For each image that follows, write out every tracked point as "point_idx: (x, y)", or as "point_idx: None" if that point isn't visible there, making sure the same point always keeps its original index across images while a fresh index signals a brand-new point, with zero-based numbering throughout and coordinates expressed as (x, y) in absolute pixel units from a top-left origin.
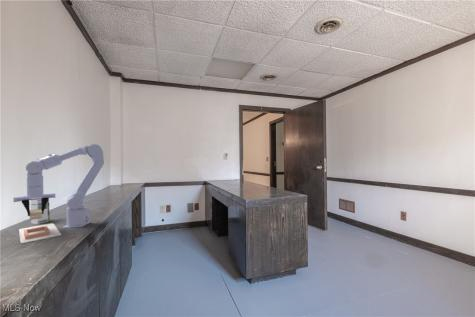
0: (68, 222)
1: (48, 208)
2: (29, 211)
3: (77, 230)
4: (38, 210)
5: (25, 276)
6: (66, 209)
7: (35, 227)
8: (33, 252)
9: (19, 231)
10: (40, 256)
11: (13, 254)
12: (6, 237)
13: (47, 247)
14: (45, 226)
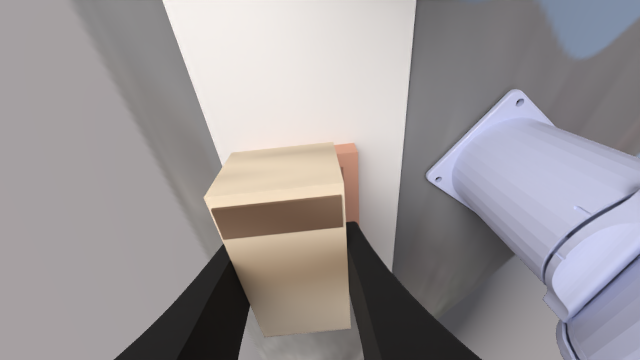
0: (469, 203)
1: None
2: (244, 320)
3: (454, 253)
4: (320, 265)
5: None
6: (552, 258)
7: (283, 31)
8: (313, 351)
9: (195, 86)
10: None
11: (271, 344)
12: (166, 164)
13: (341, 341)
14: (349, 168)
